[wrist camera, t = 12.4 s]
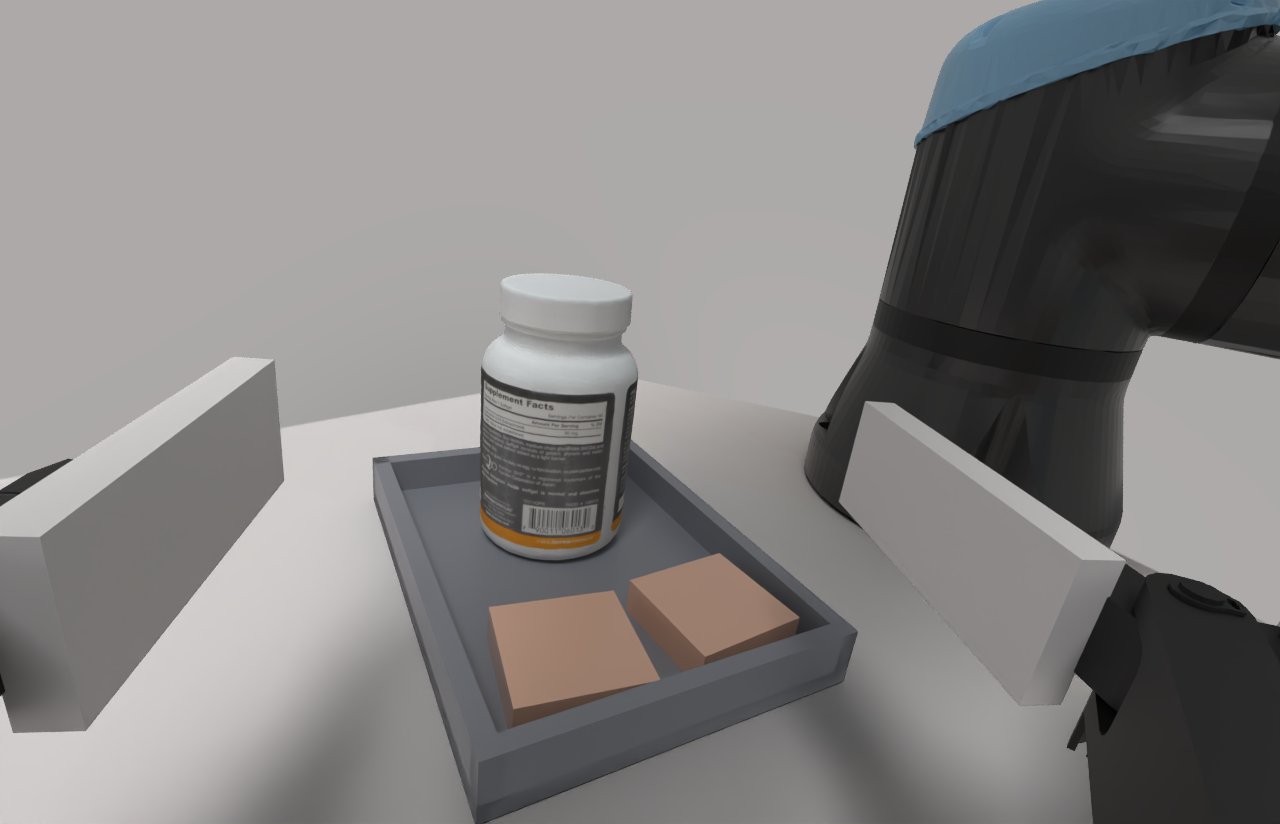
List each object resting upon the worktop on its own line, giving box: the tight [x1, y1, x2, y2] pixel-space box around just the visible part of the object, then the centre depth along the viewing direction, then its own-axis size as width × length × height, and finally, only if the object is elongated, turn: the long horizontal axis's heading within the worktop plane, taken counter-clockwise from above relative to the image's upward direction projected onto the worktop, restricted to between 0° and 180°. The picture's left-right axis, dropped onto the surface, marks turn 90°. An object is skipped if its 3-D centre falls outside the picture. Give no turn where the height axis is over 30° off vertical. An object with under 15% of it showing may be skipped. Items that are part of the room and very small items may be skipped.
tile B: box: [487, 590, 660, 729], centre depth 18 cm, size 4×4×1 cm
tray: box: [373, 440, 858, 824], centre depth 24 cm, size 12×16×2 cm
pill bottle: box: [479, 274, 638, 560], centre depth 24 cm, size 6×6×10 cm
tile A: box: [626, 553, 800, 672], centre depth 21 cm, size 4×4×1 cm
